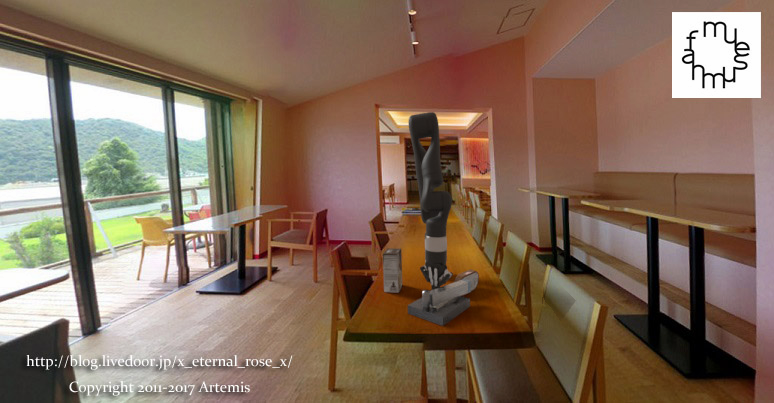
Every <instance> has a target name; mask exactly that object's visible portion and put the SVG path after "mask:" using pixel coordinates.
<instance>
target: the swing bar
mask: <svg viewBox="0 0 774 403" xmlns="http://www.w3.org/2000/svg"><path fill="white" fill-rule="evenodd" d="M429 291H430V306H435V305H438V304H440V303H443V302H446V301H448V300H451V299H453V298H456V297H458V296H461V295H463V296H465V295H464V294H466V293H468V294H469V293H472V291H471V281H469V280H466V279H462V280H460V281H457V282H454V281H453V282H451V283H449V284H444V285H442V286H440V288H437V289H434V290H429ZM466 295H467V294H466Z"/></svg>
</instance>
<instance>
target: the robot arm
mask: <svg viewBox="0 0 774 403" xmlns="http://www.w3.org/2000/svg"><path fill="white" fill-rule="evenodd" d="M408 130H409V134H410V135H409V137H410V140H411V145H412V150H413V156H414V167H415V176H416V182H417V186H418V193H419V205H420V206H419V207H420V216H421V217H420V218H421V221H422V223H423V224H425V233H424V261H425V262H424V264H423V265H422V266H420V268H419V270H420V272H421V273H422V276H423V278H424V279H425V280H426V283H430V285H431V290H434V289H437V288H440V287H443V286H444V285H446V283H447V282H448V281H449V280H450V279H451V278H452V276H454V275H453V274H454V273H453V272H450V271H449V270H448V266H447V261H448V258H447V257H448V255H447V254H448V241H447V223H448V218H449V215H450V213H451V212H450V211H451V209H452V205H453V197H452V195H451V194H450V192H448V191H447V190H441V191H440V190H437V191H435V189H437V188H439V187H441V186H442V185H443V183H444V177H443V171H442V165H441V164H442V163H441V142H440V126H439V119H438V116H437V114H436V113H435V112H434V111H433V112H432V111H429V112H423V113H416V114H412V115H410V116H409V117H408ZM427 138H430V144H429V147H428V149H427V151H426V149H425V148H424V147H423V145H422V143H421V141H420V139H427ZM431 290H430V291H431Z"/></svg>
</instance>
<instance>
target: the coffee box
mask: <svg viewBox="0 0 774 403" xmlns="http://www.w3.org/2000/svg"><path fill="white" fill-rule="evenodd" d="M402 256H403V255H402V248H390V247H389V248H386V249H385V251H384V252H383V253H382V267H383V269H382V270H383V291H384V293H395V294H396V293H397V294H398V293H400V291H401V289H402V286H403V265H402V264H403V262H402V261H403V260H402V258H403V257H402Z"/></svg>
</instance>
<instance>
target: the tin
mask: <svg viewBox="0 0 774 403" xmlns="http://www.w3.org/2000/svg"><path fill="white" fill-rule="evenodd" d="M479 274H480V273H479V272H478V271H476V270H474V269H468V270H465V271H463V272H460V273H459V274H457V276H456V277H455V279H454V281H453V283H454V282H457V281H460V280H462V279H466V280H469V281H471V292H474V291H475V290H476V289H477V287H478V285H479V280H480V279H479V278H480V277H479V276H480V275H479ZM467 294H469V293H466V294H464V295H461V296H462V297H464V296H466V295H467Z"/></svg>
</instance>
